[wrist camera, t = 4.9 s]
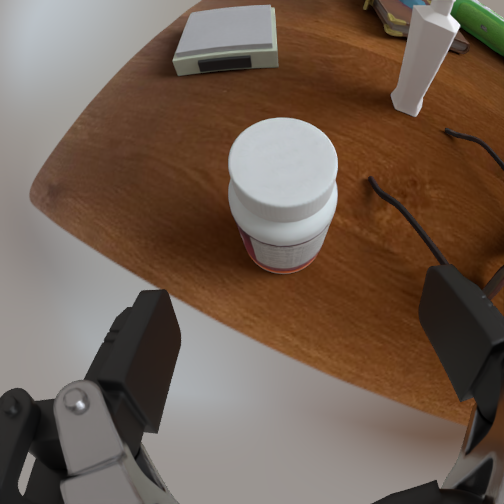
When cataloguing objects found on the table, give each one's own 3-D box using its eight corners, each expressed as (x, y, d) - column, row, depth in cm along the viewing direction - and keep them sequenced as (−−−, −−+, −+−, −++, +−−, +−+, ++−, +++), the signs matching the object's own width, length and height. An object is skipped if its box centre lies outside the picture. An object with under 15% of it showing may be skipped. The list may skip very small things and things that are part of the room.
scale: (177, 78, 31) (169, 58, 28) (193, 29, 35) (188, 11, 32) (278, 70, 30) (277, 47, 27) (275, 21, 34) (274, 3, 30)
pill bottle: (247, 202, 25) (223, 109, 15) (321, 204, 25) (341, 111, 14) (242, 274, 24) (208, 216, 13) (321, 277, 23) (353, 220, 12)
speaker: (436, 17, 34) (445, -13, 26) (446, 11, 35) (454, -16, 28) (516, 72, 29) (531, 45, 22) (518, 61, 30) (532, 36, 23)
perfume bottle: (394, 83, 28) (425, -22, 14) (427, 103, 27) (469, 1, 13) (380, 102, 28) (412, -15, 13) (414, 123, 26) (463, 11, 12)
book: (414, -4, 38) (420, -21, 33) (466, 62, 31) (477, 41, 26) (341, -21, 38) (344, -40, 34) (374, 37, 31) (382, 10, 26)
